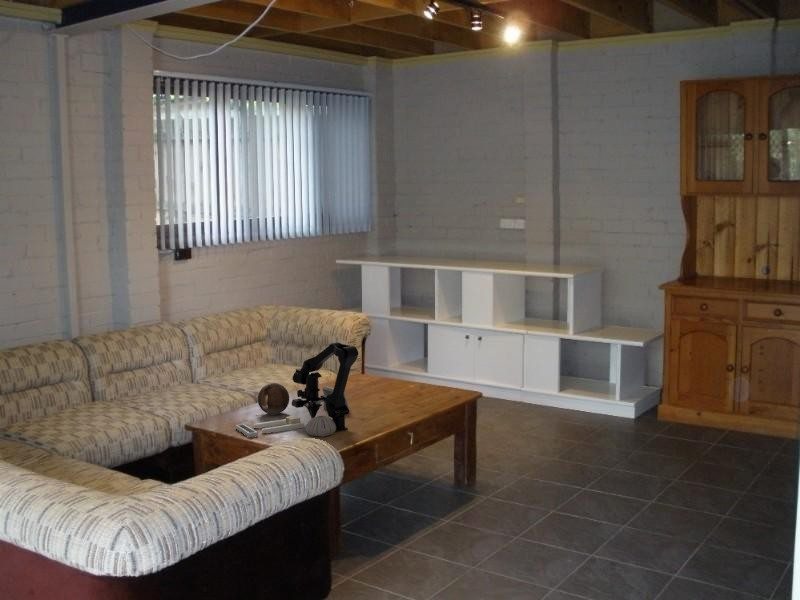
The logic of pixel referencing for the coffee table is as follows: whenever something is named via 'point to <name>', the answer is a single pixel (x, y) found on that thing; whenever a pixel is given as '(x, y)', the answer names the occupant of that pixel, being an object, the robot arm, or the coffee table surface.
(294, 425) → the channel
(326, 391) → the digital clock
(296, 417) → the birch block
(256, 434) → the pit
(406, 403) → the coffee table surface
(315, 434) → the sea urchin shell
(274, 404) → the wooden sphere
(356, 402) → the coffee table surface
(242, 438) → the coffee table surface
